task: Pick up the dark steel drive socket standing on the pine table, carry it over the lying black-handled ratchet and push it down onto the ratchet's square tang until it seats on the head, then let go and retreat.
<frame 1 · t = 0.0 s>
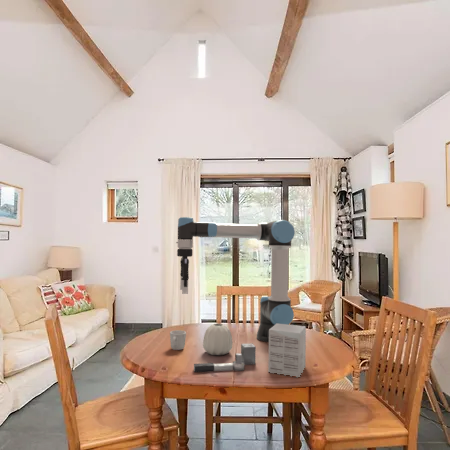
hand: (183, 291, 175), 28 cm above the table, fingers open, 13 cm apart
vase: (217, 353, 169), on the table
socket: (248, 362, 157), on the table
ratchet: (238, 368, 149), on the table
cup: (176, 349, 174), on the table
supplement box: (287, 370, 148), on the table
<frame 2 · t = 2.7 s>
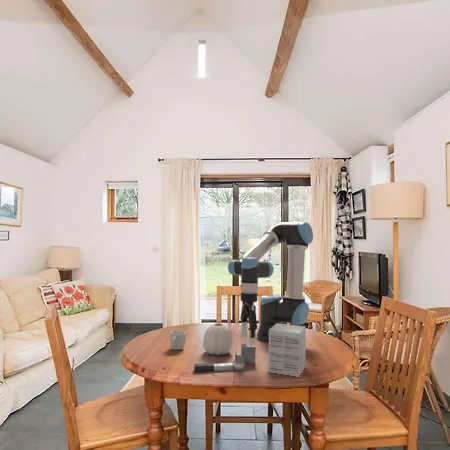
hand: (247, 341, 157), 9 cm above the table, fingers open, 13 cm apart
nothing on the table moved.
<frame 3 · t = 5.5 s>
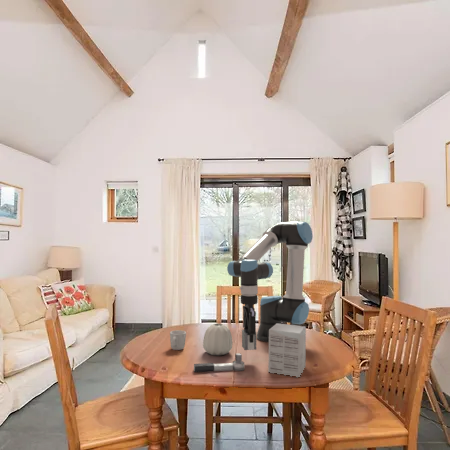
hand: (249, 347, 158), 7 cm above the table, fingers closed on socket, 5 cm apart
socket: (249, 347, 158), point 6 cm above the table, touching gripper
everything else where it was.
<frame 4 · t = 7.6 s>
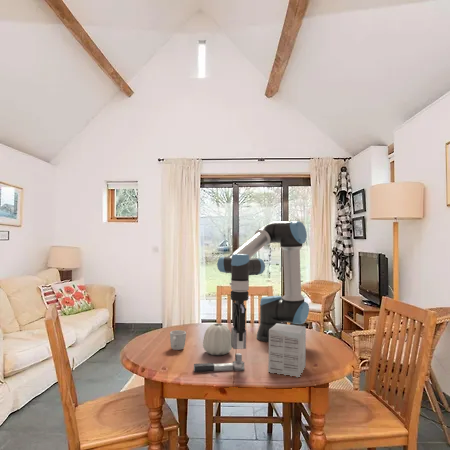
hand: (238, 346, 149), 9 cm above the table, fingers closed on socket, 5 cm apart
socket: (238, 347, 149), point 9 cm above the table, touching gripper
everything else where it was.
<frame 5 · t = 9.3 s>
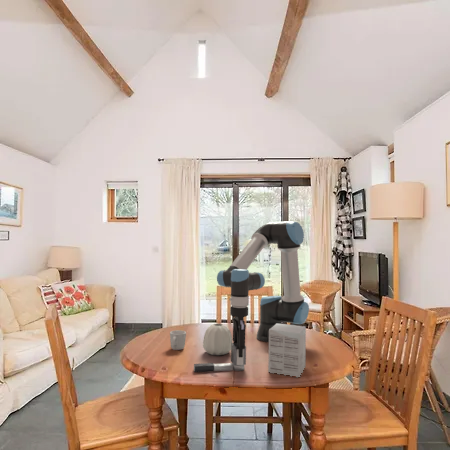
hand: (238, 362, 149), 3 cm above the table, fingers closed on socket, 5 cm apart
socket: (238, 362, 149), point 2 cm above the table, touching gripper, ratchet
everything else where it was.
when the fingers open (3 cm above the table, at t = 10.0 s): socket stays where it is, resting on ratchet.
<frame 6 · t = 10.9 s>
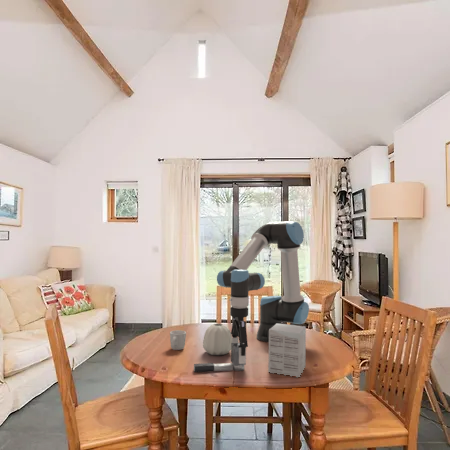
hand: (238, 357, 149), 5 cm above the table, fingers open, 13 cm apart
socket: (238, 362, 149), point 2 cm above the table, touching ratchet
everything else where it was.
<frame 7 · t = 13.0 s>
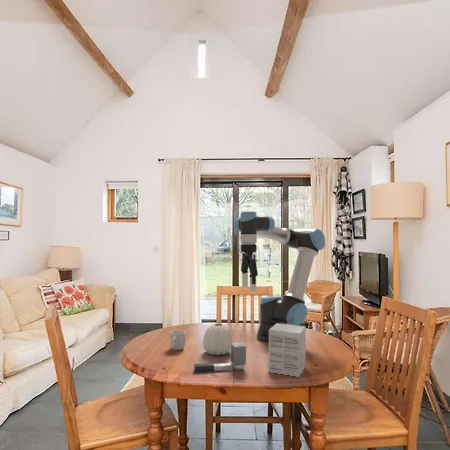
hand: (248, 288, 168), 31 cm above the table, fingers open, 13 cm apart
nothing on the table moved.
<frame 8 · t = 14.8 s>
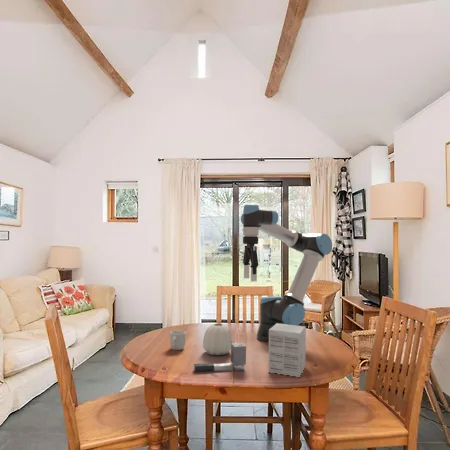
hand: (249, 279, 173), 35 cm above the table, fingers open, 13 cm apart
nothing on the table moved.
at the end: socket 0.1 cm off-centre on the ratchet, point 2.5 cm above the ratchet's base; socket tilted 0°; the gripper is holding nothing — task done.
